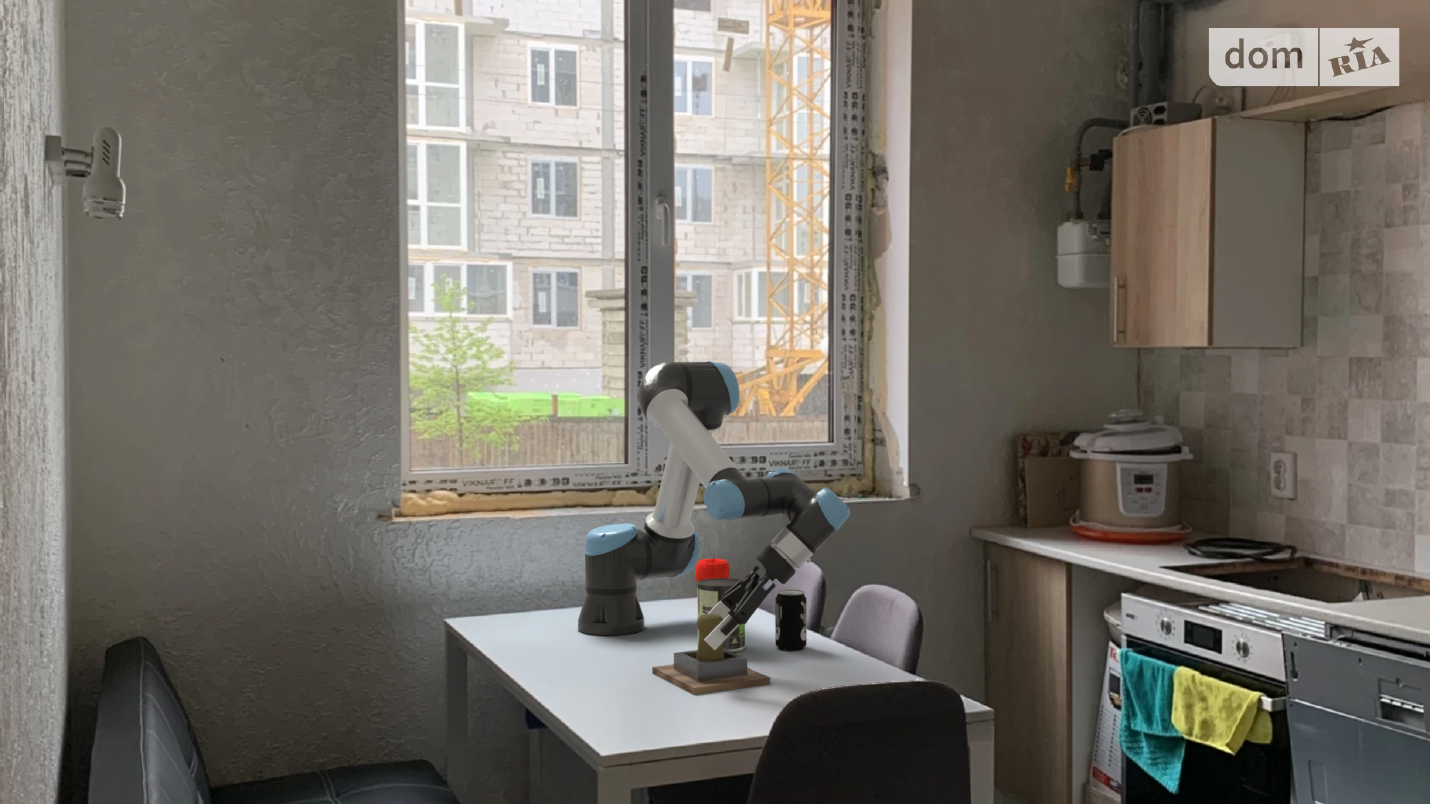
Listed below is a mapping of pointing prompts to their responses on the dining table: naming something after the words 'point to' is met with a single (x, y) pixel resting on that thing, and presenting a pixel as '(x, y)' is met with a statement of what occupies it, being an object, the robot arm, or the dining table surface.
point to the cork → (705, 627)
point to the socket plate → (710, 673)
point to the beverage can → (790, 620)
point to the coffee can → (708, 599)
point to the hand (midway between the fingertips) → (705, 637)
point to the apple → (712, 569)
